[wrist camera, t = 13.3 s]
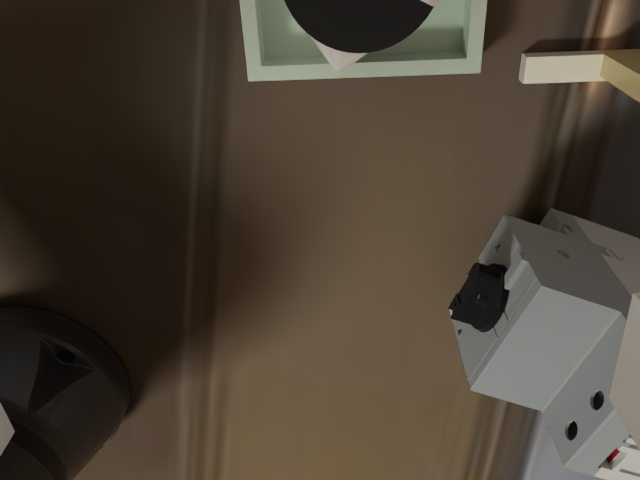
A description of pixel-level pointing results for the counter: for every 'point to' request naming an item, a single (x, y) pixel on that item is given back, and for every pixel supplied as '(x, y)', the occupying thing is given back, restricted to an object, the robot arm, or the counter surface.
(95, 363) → the robot arm
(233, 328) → the counter surface
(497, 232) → the circuit breaker
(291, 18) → the tray
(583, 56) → the fuse holder
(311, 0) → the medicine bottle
